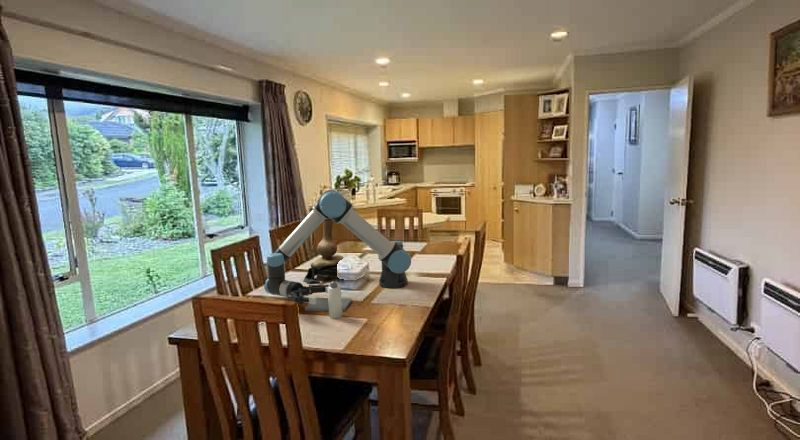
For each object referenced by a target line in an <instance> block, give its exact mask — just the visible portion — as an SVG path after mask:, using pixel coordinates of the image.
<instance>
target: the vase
mask: <svg viewBox="0 0 800 440" xmlns="http://www.w3.org/2000/svg"><path fill="white" fill-rule="evenodd" d="M333 224H334V221H333V220H332V219H331V218H328V219H326V220H324V221H323V222H322V230H323V231H322V232H323V233H322V239H321V240H320V242H319V243H318V245H317V247H316V249H317V253H318V254H319V255H320V256H321V257H318V258H317V259H315V260H313V261H311V263H310V268H308V269H307V273H306V274H305V276H304V279H303V281H302V283H306V284H307V285H309V284H310V283H312V282H317V285H320V284H321V282H320V280H318V279H320V278H326V277H329V278H335V277H336V278H337V264H338V262H339V261H340V260H342V259H343V258H344V259H345V257H344V256H343V255H341V254H336V253H337V251H338V245H337V243H336V242H335V241H334V240H333V235H332V234H333Z"/></svg>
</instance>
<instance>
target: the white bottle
mask: <svg viewBox="0 0 800 440" xmlns="http://www.w3.org/2000/svg"><path fill="white" fill-rule="evenodd" d="M341 286H342V285H339V284H338V282H337V281H331V282H330V284H329V286H328V287H327V290H328V293H327V298H328V306H329V311H328V317H330V319H331V318H332V319H333V320H334V319H335V320H337V319H342V317H343V311H342V301H341V298H342V289H341V288H342V287H341Z"/></svg>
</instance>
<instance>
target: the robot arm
mask: <svg viewBox="0 0 800 440" xmlns="http://www.w3.org/2000/svg"><path fill="white" fill-rule="evenodd" d="M328 218H331V219H332V220H333V223H336V224H337V225H338V224H341V225H343V226H344V227H345V228H347V230H348V231H350V232H351V233H352V234H353V235H354V236H356V237H357V238H358V239H359V240H361V242H363V243H364V244H365V245H366V246H368V247H369V248H370V249H371V250H372V251H373V252H375V253H376V254H377V255H378V260H379V261H381V273H380V276H379V280H378V282H379V286H380V287H382V288H386V289H398V288H402V287H406V286H408V283H409V281H408V277H407V273H406V271H408V270H409V269H410V267H411V264H412V257H411V255H410V253H409V252H408V251H407V250H405V249H404V242H403V241H401V240H398V241H397V240H389V239H387V238H386V237H385V236H384V235H383V234H382V233H381V232H380V231H378V229H376V228H375V227H374V226H373V225H372V224H370V223H369V222H368V221H367V220H366V219H365V218H363V217H362V216H361V215H360V214H359V213H358V212H356V211H355V209H354V206H353V204H352V203H351V202H350V201H349V200H347V198H345V197H344V195H342V194H341V193H340V192H339V191H336V190H334V189H328V190H326V191H324V192H322V194H321V195H320V196H319V198H318V199H317V201H316V202H315V203H314V205H312V210H311V211H310V212H309V213H308V214H307V215H306V216H305V218H303V220H302V221H301V222H300V223H299V224H298V225H297V227H295V228H294V230H293V231H292V232H291V233H290V234H288V235H289V236H287V238H286V239H284V241H283V242H282V243H281V244H280V245H279V247H277V249H276V250H275V251H274V252H273V253H270V254H268V255H266V266H267V276H268V278H267V279H266V280H265V281H264V282H265V283H264V285H263V287H264V291H265V292H266V293H267V294H270V295H274V296H281V297H285V298H288V299H291V300H292V301H293V302H294V303H295V302H297V303H296V304H299V303H300V304H299V305H304V303H307V304H316V298H317V297H314V296H308V295H313V294H320V293H322V294H323V293H325V294H328V290H327V287H328V286H330V284H308V286H304V285H303V284H302V283H301V282H298V281H293V280H288V279H287V280H286V273H285V272H286V271H285V269H286V268H285V265H286V263H287V262H288V261H289V259H290V258H291V257H292V256H293V255H294V254H295V253H296V252H297V250H298V249H299V248H300V247H301V246H302V245H303V244H304V243H305V242H306V241H307V239H308V238H310V236H311V235H312V234H313V233H314V232H315V231H316V230H317V229H318V227H319V226H320V225H321V224H323V221H324V220H326V219H328ZM405 285H406V286H405Z"/></svg>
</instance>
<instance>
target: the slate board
mask: <svg viewBox="0 0 800 440" xmlns="http://www.w3.org/2000/svg"><path fill="white" fill-rule="evenodd" d="M315 298H316V304H310V303H308V304H307V305H306V306H305V307H304V311H305V312H329V306H328V297H315ZM352 299H353V298H352V297H351V298H349V297H345V298H344V297H343V298H342V297H341V301H342V312H345V311H346V309H347V308H348V307H349V305H350V304H351V302H352Z"/></svg>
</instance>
